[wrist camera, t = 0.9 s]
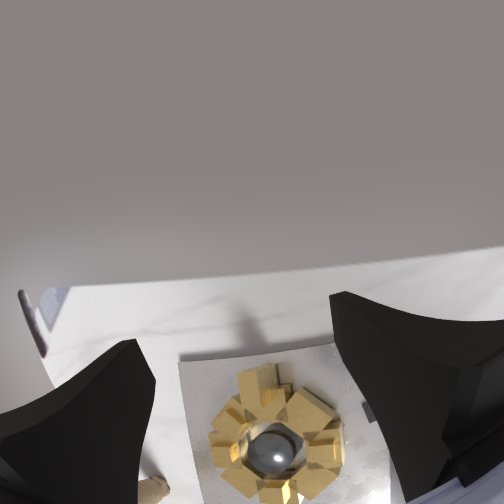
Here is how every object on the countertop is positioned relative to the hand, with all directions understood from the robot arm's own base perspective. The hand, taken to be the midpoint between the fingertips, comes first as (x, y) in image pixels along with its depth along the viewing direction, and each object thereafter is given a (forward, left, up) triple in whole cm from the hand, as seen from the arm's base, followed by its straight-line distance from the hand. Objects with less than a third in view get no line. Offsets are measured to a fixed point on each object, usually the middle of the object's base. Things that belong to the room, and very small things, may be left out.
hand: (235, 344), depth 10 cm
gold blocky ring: (-9, +5, -16) cm, 19 cm away
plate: (-10, +5, -17) cm, 21 cm away
